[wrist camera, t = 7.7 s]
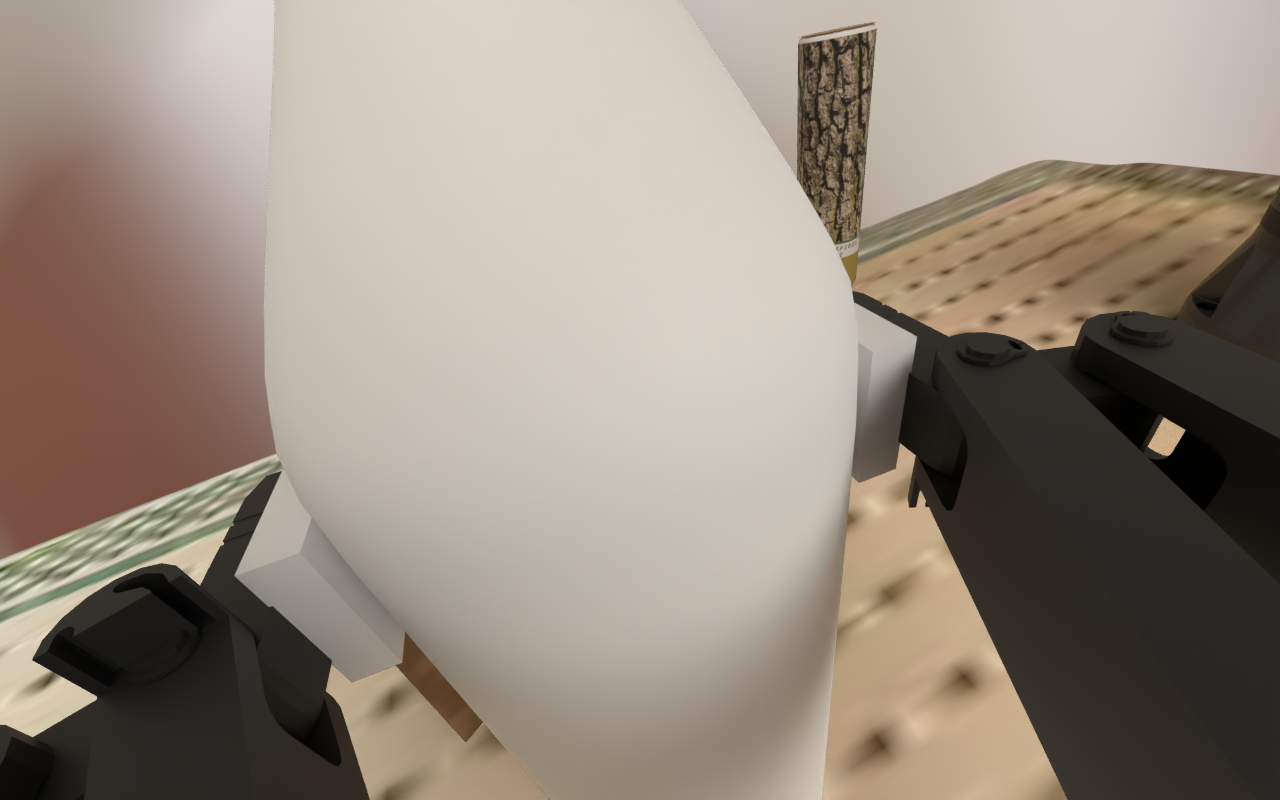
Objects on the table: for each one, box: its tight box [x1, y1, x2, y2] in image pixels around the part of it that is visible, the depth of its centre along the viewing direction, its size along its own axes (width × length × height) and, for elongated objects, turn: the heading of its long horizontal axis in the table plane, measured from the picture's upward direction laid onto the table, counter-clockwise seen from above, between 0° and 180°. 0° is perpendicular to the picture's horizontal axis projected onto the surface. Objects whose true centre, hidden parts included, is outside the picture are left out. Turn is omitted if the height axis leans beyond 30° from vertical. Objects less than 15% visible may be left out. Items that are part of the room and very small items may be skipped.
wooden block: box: [396, 632, 482, 742], centre depth 33 cm, size 30×6×10 cm, turn 143°
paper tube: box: [797, 22, 877, 284], centre depth 53 cm, size 7×7×25 cm
